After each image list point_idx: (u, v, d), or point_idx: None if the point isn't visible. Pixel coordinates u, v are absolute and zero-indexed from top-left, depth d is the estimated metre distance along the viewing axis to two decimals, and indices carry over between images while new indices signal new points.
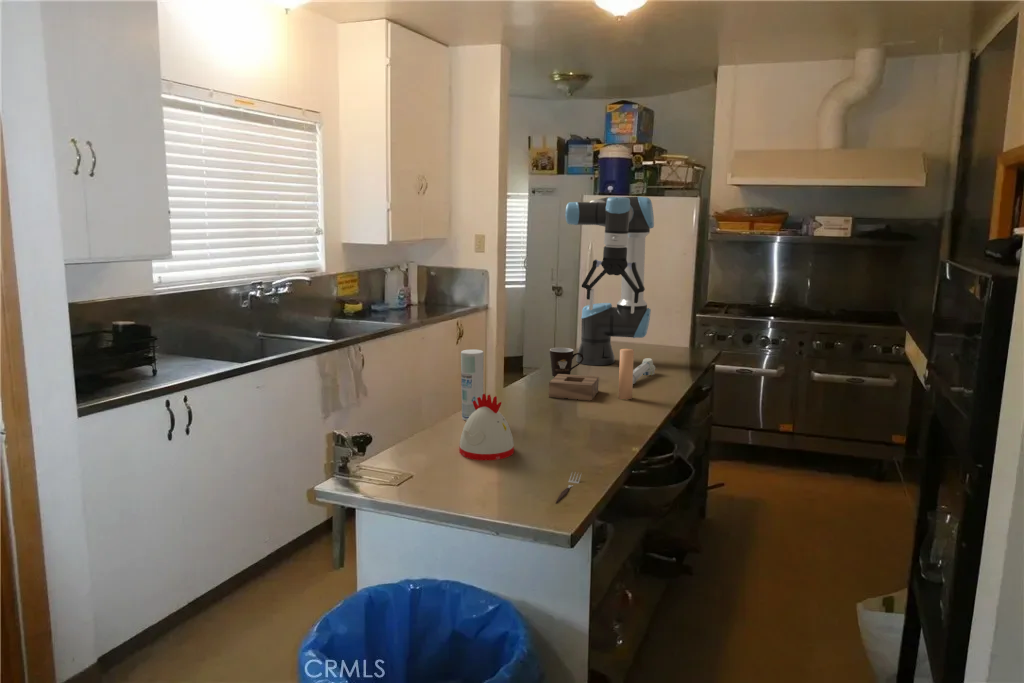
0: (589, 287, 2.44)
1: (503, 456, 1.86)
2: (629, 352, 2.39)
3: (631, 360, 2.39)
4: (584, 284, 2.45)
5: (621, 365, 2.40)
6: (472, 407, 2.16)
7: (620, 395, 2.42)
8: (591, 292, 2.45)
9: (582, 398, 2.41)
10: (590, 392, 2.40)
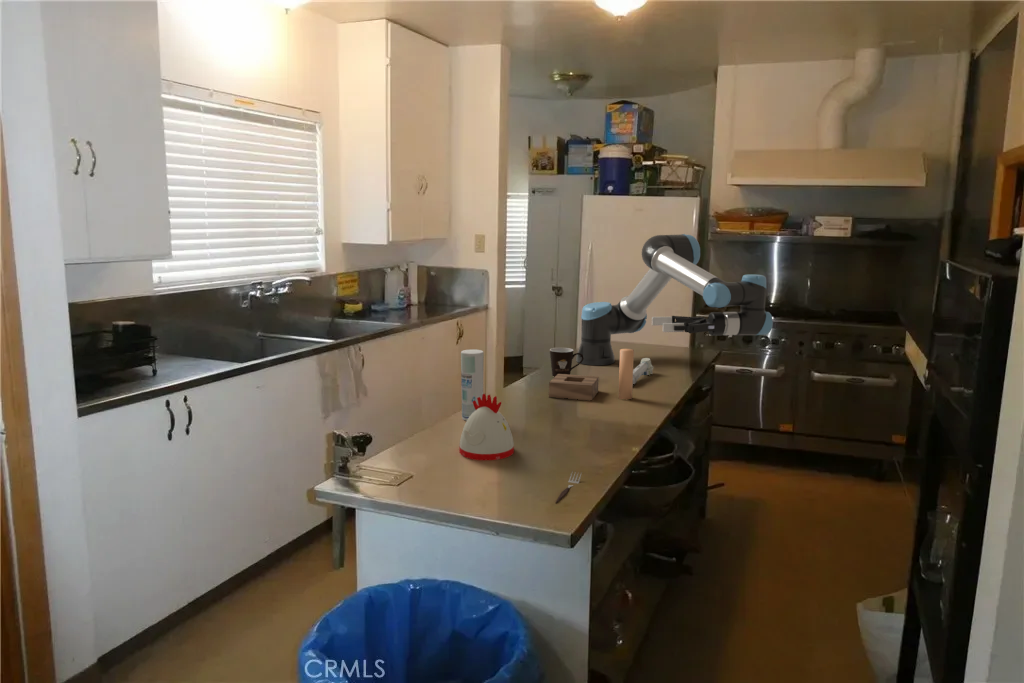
0: None
1: (503, 456, 1.86)
2: (629, 352, 2.39)
3: (631, 360, 2.39)
4: None
5: (621, 365, 2.40)
6: (472, 407, 2.16)
7: (620, 395, 2.42)
8: None
9: (582, 398, 2.41)
10: (590, 392, 2.40)
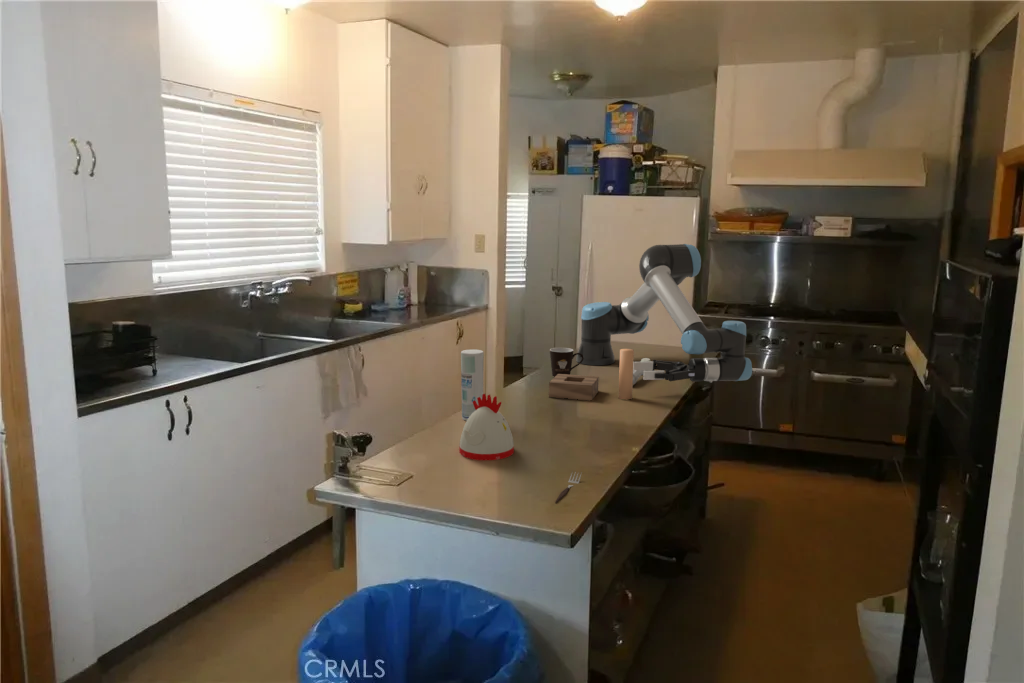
0: None
1: (503, 456, 1.86)
2: (629, 352, 2.39)
3: (631, 360, 2.39)
4: None
5: (621, 365, 2.40)
6: (472, 407, 2.16)
7: (620, 395, 2.42)
8: None
9: (582, 398, 2.41)
10: (590, 392, 2.40)
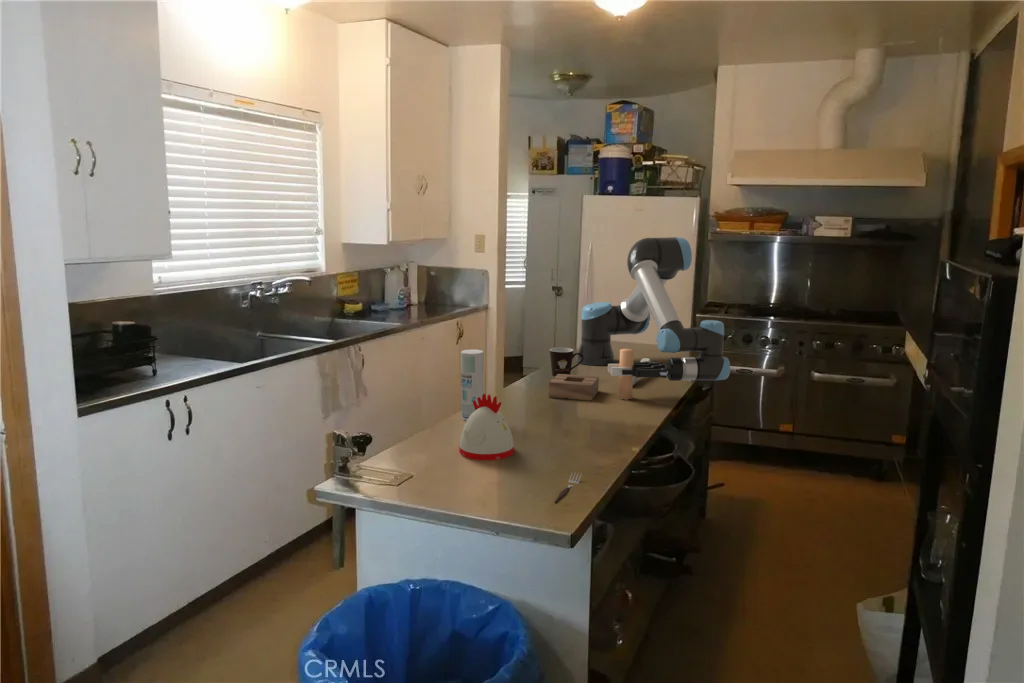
0: None
1: (503, 456, 1.86)
2: (629, 352, 2.39)
3: (631, 360, 2.39)
4: None
5: (621, 365, 2.40)
6: (472, 407, 2.16)
7: (620, 395, 2.42)
8: None
9: (582, 398, 2.41)
10: (590, 392, 2.40)
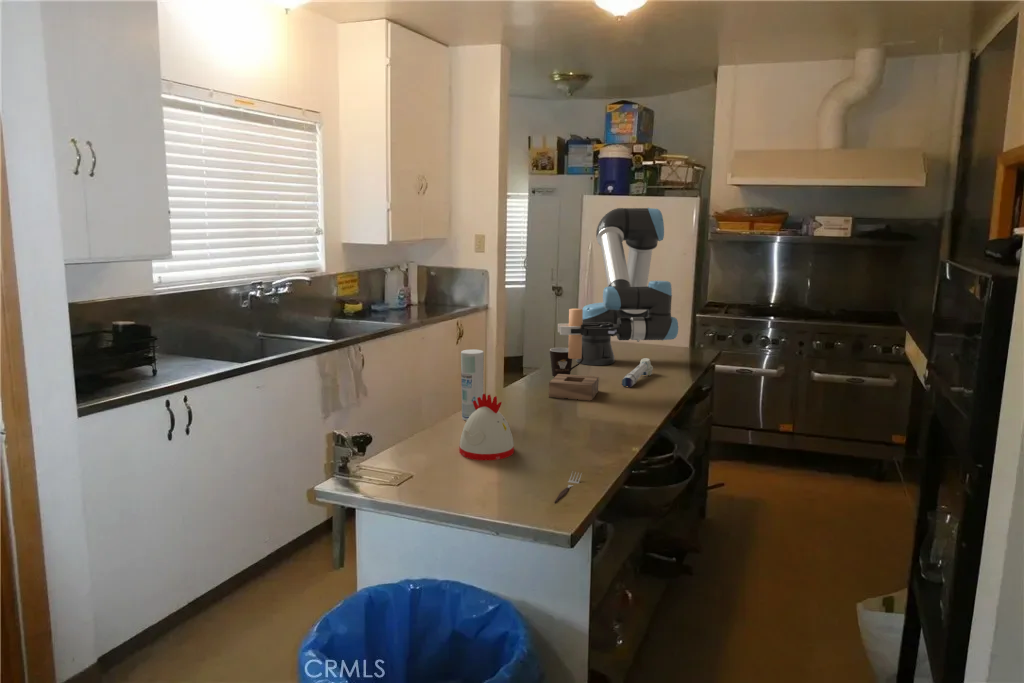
0: None
1: (503, 456, 1.86)
2: (578, 311, 2.41)
3: (580, 319, 2.42)
4: None
5: (570, 324, 2.43)
6: (472, 407, 2.16)
7: (569, 354, 2.45)
8: None
9: (582, 398, 2.41)
10: (590, 392, 2.40)
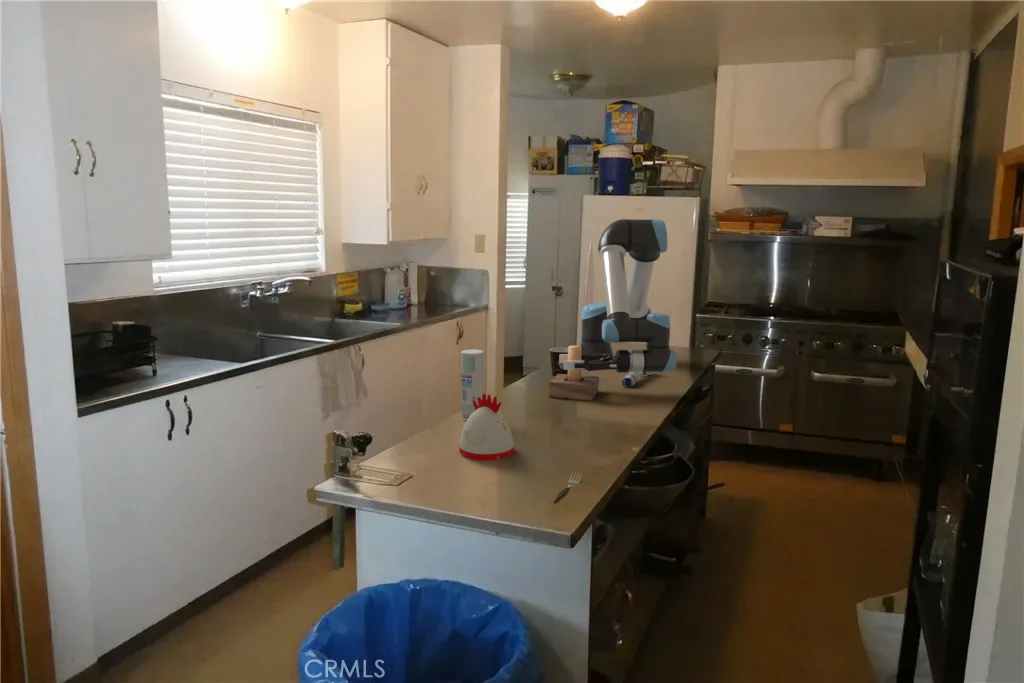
0: None
1: (503, 456, 1.86)
2: (577, 349, 2.44)
3: (579, 357, 2.45)
4: None
5: None
6: (472, 407, 2.16)
7: None
8: None
9: (582, 398, 2.41)
10: (590, 392, 2.40)
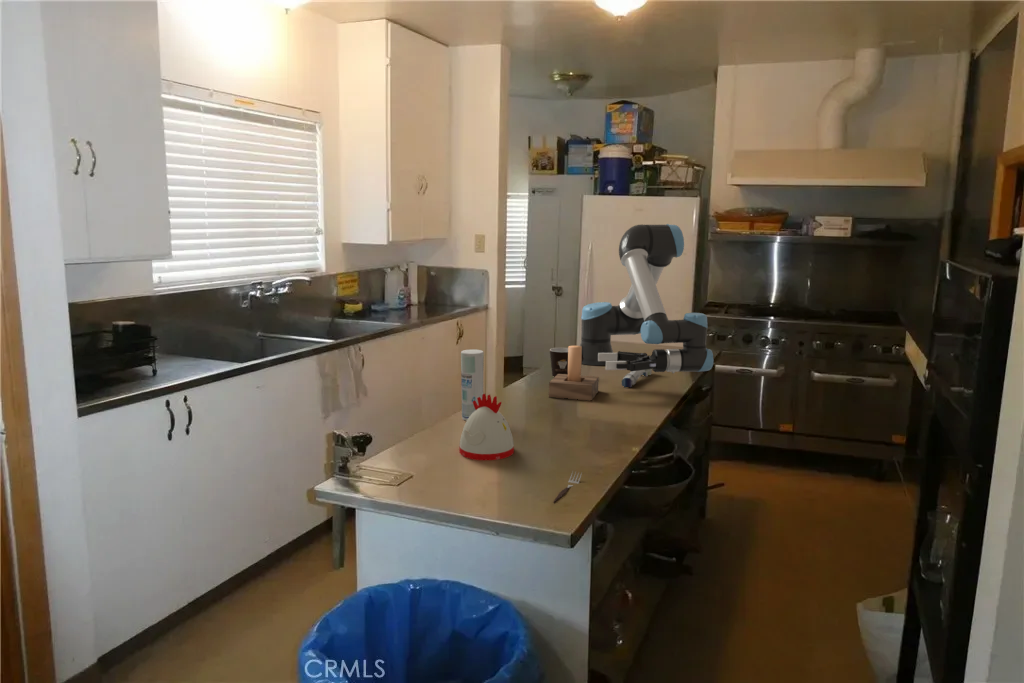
0: None
1: (503, 456, 1.86)
2: (577, 349, 2.44)
3: (579, 357, 2.45)
4: None
5: (569, 361, 2.45)
6: (472, 407, 2.16)
7: None
8: None
9: (582, 398, 2.41)
10: (590, 392, 2.40)
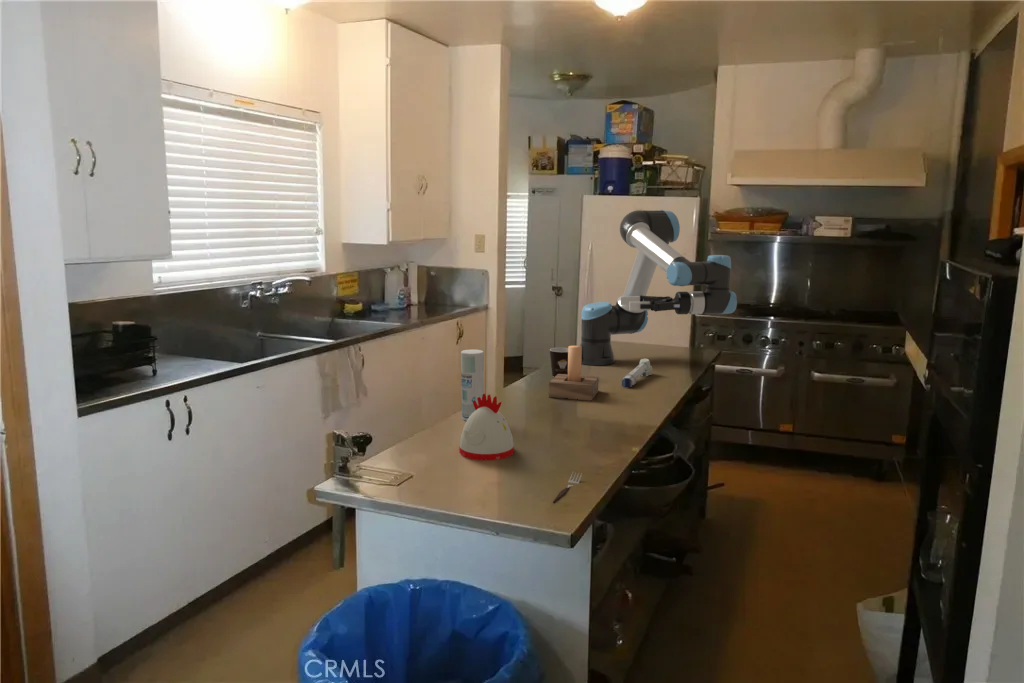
0: None
1: (503, 456, 1.86)
2: (577, 349, 2.44)
3: (579, 357, 2.45)
4: None
5: (569, 361, 2.45)
6: (472, 407, 2.16)
7: None
8: None
9: (582, 398, 2.41)
10: (590, 392, 2.40)
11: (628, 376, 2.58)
